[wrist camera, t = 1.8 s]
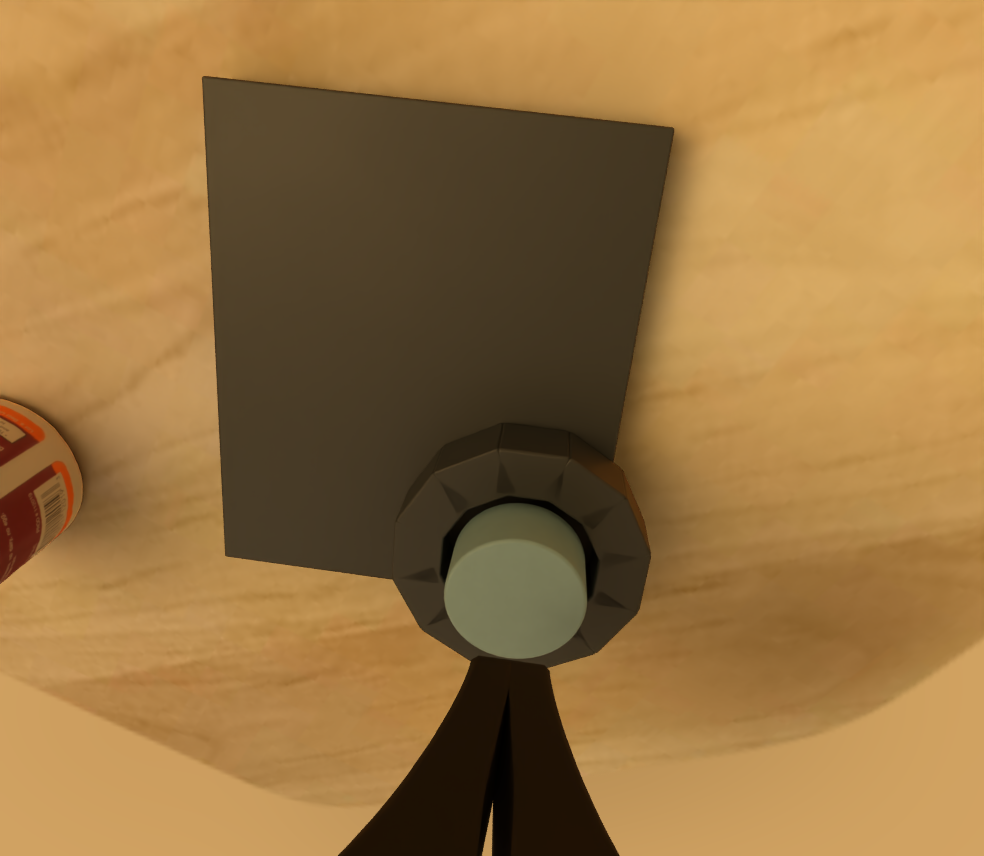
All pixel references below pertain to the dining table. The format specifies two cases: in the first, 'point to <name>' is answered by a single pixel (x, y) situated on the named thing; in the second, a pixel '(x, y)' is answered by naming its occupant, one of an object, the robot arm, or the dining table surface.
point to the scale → (426, 332)
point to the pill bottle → (33, 486)
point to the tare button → (517, 581)
